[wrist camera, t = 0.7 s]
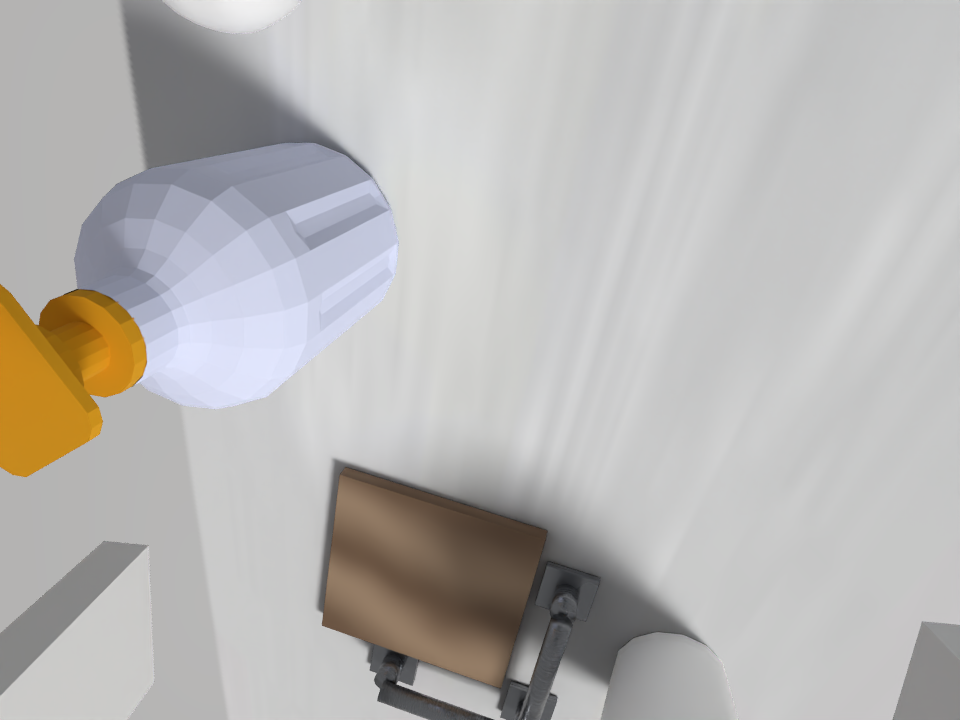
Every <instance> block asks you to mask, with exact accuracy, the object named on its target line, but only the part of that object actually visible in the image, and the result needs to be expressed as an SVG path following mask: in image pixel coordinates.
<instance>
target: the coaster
mask: <svg viewBox="0 0 960 720" xmlns="http://www.w3.org/2000/svg"><path fill="white" fill-rule="evenodd" d="M546 536H547V530H543V529H540V528H537V527H534V526H531V525H527V524H524V523H521V522H518V521H515V520H512V519H508V518H505V517H502V516H499V515H496V514H493V513H489V512H486V511H483V510H480V509H477V508H474V507H470V506H467V505H464V504H461V503H458V502H455V501H451V500H448V499H445V498H442V497H439V496H436V495H432V494H429V493H426V492H423V491H420V490H416V489H413V488H410V487H407V486H404V485H401V484H397V483H394V482H391V481H388V480H385V479H382V478H378V477H375V476H372V475H369V474H366V473H363V472H359V471H356V470H353V469H350V468H347V467H345V469H344V470H343V471H342V472H341V474H340V477H339V485H338V494H337V502H336V511H335V519H334V527H333V536H332V544H331V553H330V561H329V570H328V578H327V587H326V595H325V604H324V612H323V621H322V626H325V627H328V628H330V629H333V630H336V631H339V632H342V633H345V634H347V635H350V636H353V637H356V638H359V639H362V640H364V641H367V642H370V643H373V644H376V645H379V646H381V647H384V648H387V649H390V650H393V651H396V652H398V653H401V654H404V655H407V656H410V657H413V658H415V659H418V660H421V661H424V662H427V663H430V664H432V665H435V666H438V667H441V668H444V669H447V670H449V671H452V672H455V673H458V674H461V675H464V676H466V677H469V678H472V679H475V680H478V681H481V682H483V683H486V684H489V685H492V686H495V687H498V688H500V689H501V686H502V683H503V680H504V676H505V673H506V670H507V666H508V663H509V660H510V656H511V653H512V650H513V646H514V643H515V640H516V636H517V633H518V630H519V626H520V623H521V620H522V616H523V613H524V610H525V606H526V603H527V600H528V596H529V593H530V590H531V586H532V583H533V580H534V576H535V573H536V570H537V566H538V563H539V560H540V556H541V553H542V550H543V546H544V543H545V540H546Z"/></svg>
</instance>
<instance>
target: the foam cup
mask: <svg viewBox="0 0 960 720" xmlns="http://www.w3.org/2000/svg"><path fill="white" fill-rule="evenodd" d="M601 720H739V718H738V714H737V711H736V707H735V704H734V700H733V696H732V693H731V689H730V686H729V682H728V678H727V675H726V671H725V669H724V665H723V662H722V661H721V660H720V659H719V658H718V657H717V656H716V655H715V654H714V653H713V652H712V651H711V650H710V648H709V647H708V646H707V645H704V644H702V643H700V642H698V641H696V640H694V639H691V638H689V637H687V636H685V635H681V634H672V633H662V632H655V633H651V634H647V635H643V636H639V637H635V638H633V639H632V640H631V641H629V642H628V643H627V644H626V645H625V646H624V647H622V648H621V649H620V650H619V651H618V654H617V658H616V661H615V665H614V669H613V672H612V675H611V679H610V684H609V688H608V692H607V696H606V700H605V704H604V708H603V713H602V717H601Z"/></svg>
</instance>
